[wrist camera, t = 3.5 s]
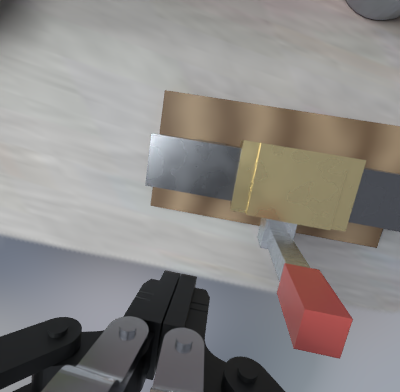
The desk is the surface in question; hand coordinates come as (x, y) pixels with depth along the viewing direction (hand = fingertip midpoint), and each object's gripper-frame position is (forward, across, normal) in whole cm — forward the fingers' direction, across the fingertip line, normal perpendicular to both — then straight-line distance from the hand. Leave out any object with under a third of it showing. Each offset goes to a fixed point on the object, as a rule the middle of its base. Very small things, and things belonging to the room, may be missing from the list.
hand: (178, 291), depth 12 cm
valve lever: (+12, -6, 0) cm, 14 cm away
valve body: (+19, -6, -5) cm, 21 cm away
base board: (+21, -6, -5) cm, 22 cm away
